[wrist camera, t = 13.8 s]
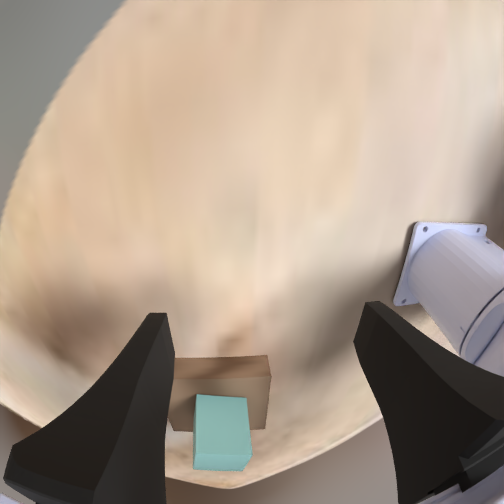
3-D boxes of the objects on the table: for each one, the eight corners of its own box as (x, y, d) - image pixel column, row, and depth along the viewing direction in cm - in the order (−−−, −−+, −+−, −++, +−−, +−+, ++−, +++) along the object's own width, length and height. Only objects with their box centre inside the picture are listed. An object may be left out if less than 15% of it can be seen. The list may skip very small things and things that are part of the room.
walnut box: (266, 351, 26) (270, 376, 24) (261, 407, 31) (265, 428, 28) (157, 353, 25) (153, 378, 23) (175, 409, 30) (173, 431, 27)
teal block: (246, 397, 25) (252, 455, 20) (237, 419, 27) (242, 471, 22) (196, 394, 24) (195, 453, 19) (193, 417, 26) (192, 469, 21)
